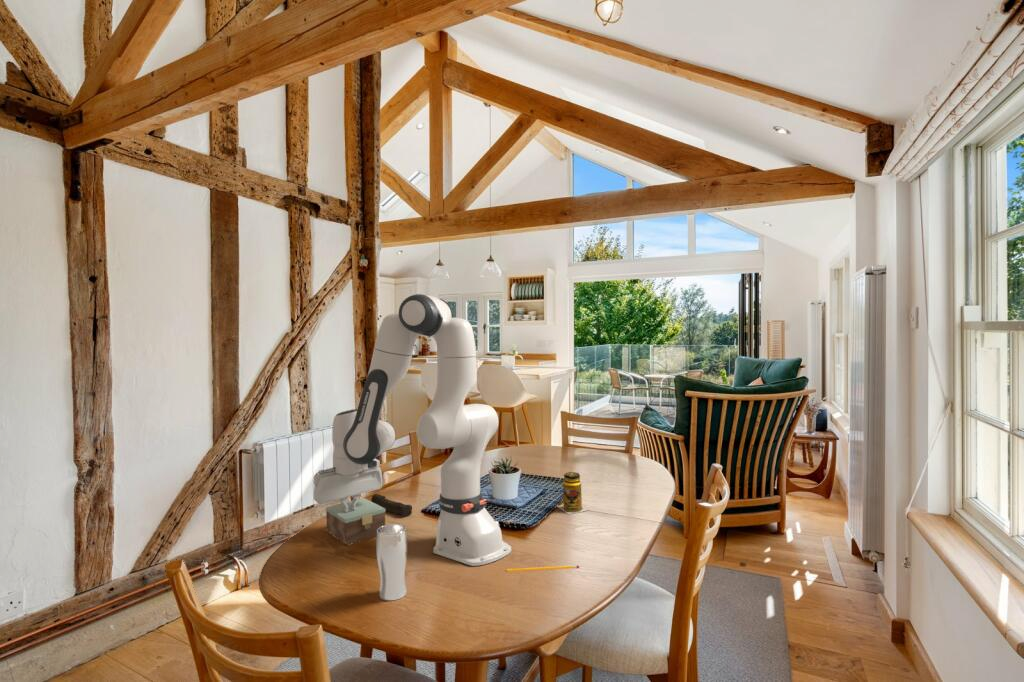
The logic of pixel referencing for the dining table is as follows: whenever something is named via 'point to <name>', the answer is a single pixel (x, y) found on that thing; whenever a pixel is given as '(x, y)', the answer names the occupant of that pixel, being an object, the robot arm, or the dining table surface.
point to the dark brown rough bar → (392, 505)
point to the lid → (356, 511)
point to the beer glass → (392, 560)
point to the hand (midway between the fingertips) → (349, 510)
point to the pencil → (542, 568)
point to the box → (354, 528)
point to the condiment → (572, 493)
